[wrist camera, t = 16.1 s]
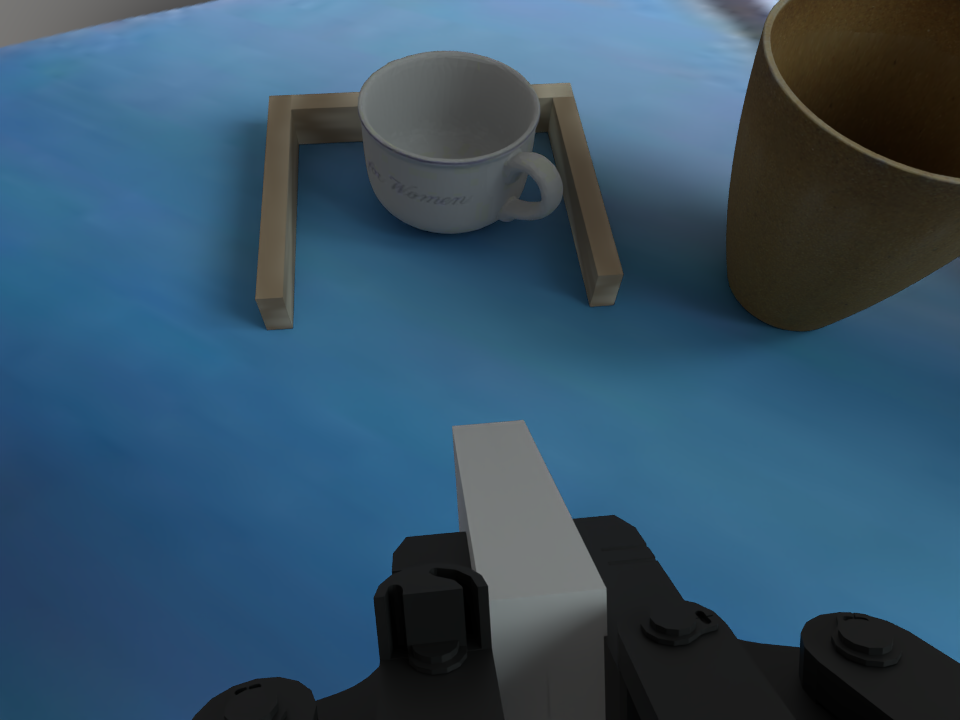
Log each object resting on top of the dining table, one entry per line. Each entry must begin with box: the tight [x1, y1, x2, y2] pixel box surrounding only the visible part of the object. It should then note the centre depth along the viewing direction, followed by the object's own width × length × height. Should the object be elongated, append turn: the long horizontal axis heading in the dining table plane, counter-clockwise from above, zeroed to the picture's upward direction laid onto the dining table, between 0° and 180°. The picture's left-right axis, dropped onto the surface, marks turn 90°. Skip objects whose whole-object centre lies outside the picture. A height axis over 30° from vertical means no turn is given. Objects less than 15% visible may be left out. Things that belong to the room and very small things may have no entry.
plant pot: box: [726, 0, 960, 331], centre depth 38 cm, size 15×15×16 cm
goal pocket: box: [255, 83, 623, 330], centre depth 46 cm, size 21×18×3 cm
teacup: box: [358, 51, 563, 234], centre depth 44 cm, size 14×11×8 cm
